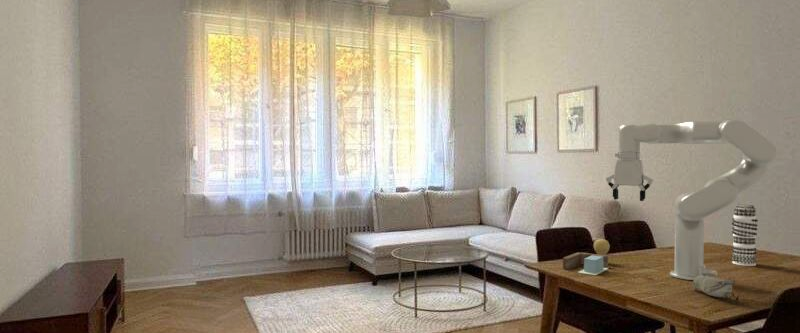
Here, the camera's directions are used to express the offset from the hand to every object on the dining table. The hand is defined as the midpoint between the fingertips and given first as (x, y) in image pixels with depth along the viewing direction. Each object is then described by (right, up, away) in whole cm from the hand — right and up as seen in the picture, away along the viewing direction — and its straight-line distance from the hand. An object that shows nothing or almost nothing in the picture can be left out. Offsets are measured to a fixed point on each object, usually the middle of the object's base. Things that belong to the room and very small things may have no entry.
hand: (628, 200), depth 200 cm
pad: (-13, -28, +2) cm, 31 cm away
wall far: (-18, -28, +11) cm, 35 cm away
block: (-13, -28, +2) cm, 31 cm away
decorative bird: (+12, -30, -35) cm, 47 cm away
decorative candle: (+56, -28, +15) cm, 64 cm away
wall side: (-10, -28, +13) cm, 32 cm away
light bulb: (-4, -28, +18) cm, 34 cm away
